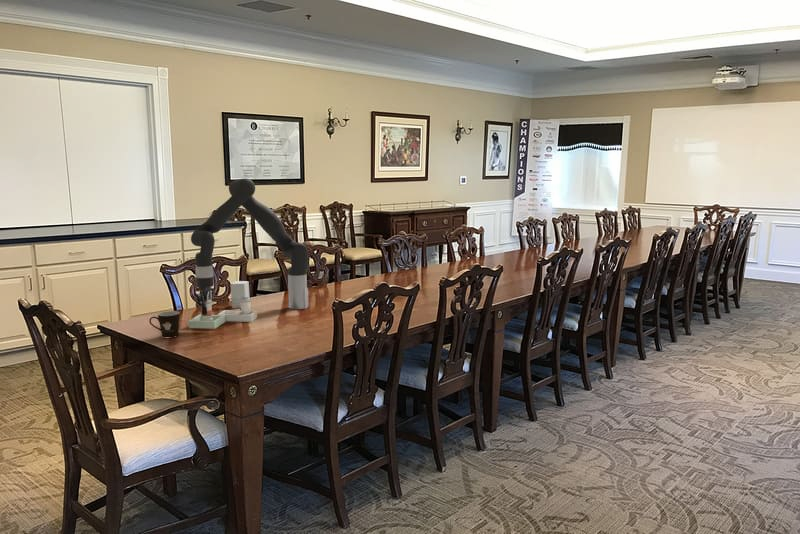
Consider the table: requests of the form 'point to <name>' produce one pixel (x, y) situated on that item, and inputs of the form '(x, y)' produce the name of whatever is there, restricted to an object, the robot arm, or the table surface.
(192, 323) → the tray
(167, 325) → the coffee mug
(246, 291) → the supplement box
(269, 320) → the table surface
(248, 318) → the fuse block
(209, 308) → the marked fuse
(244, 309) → the fuse
